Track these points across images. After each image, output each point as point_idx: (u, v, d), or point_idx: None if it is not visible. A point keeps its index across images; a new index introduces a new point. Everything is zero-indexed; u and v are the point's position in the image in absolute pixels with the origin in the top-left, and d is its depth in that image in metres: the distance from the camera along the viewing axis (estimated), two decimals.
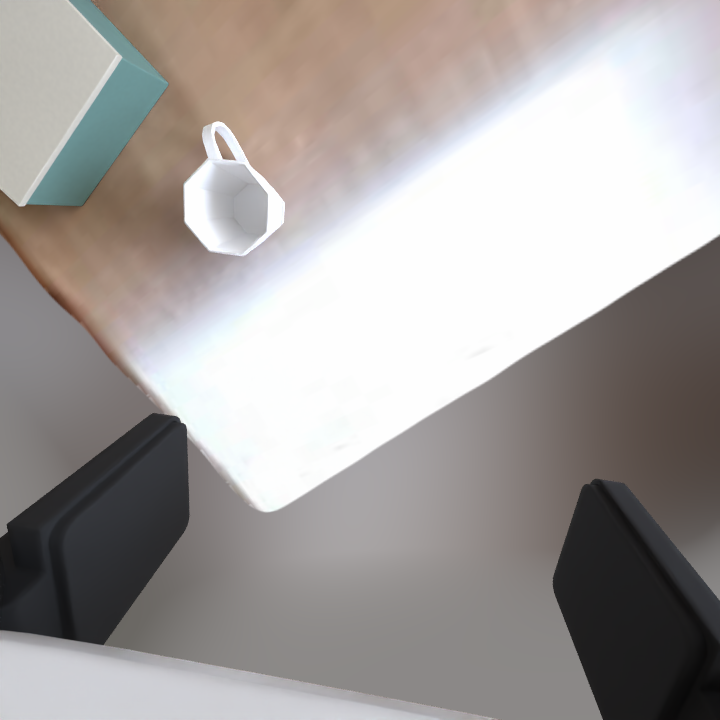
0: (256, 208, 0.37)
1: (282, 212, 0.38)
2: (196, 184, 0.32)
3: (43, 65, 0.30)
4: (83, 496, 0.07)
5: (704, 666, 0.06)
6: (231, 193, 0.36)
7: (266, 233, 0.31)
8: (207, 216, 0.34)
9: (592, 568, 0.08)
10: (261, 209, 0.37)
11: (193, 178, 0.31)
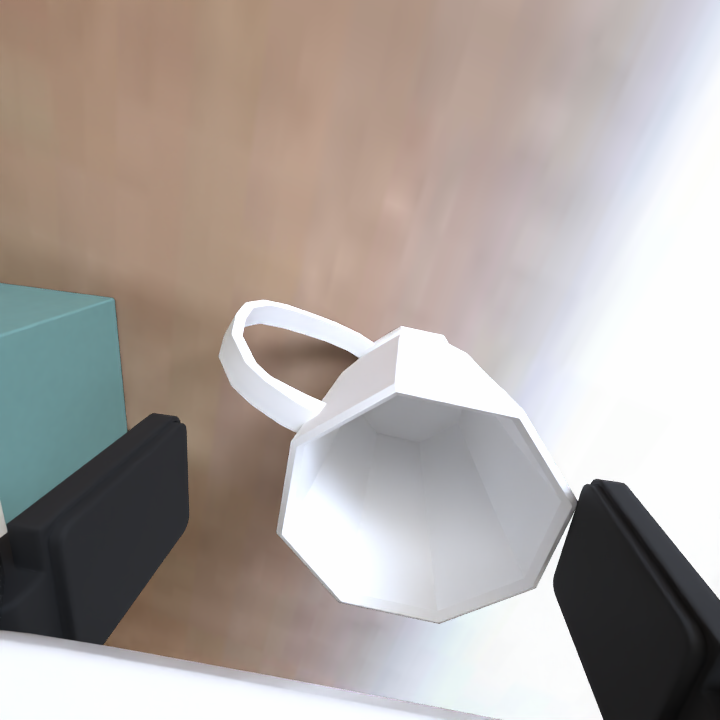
0: None
1: None
2: (301, 499, 0.11)
3: None
4: (83, 496, 0.07)
5: (704, 667, 0.06)
6: None
7: (571, 509, 0.09)
8: (357, 512, 0.13)
9: (592, 568, 0.08)
10: None
11: (290, 507, 0.10)
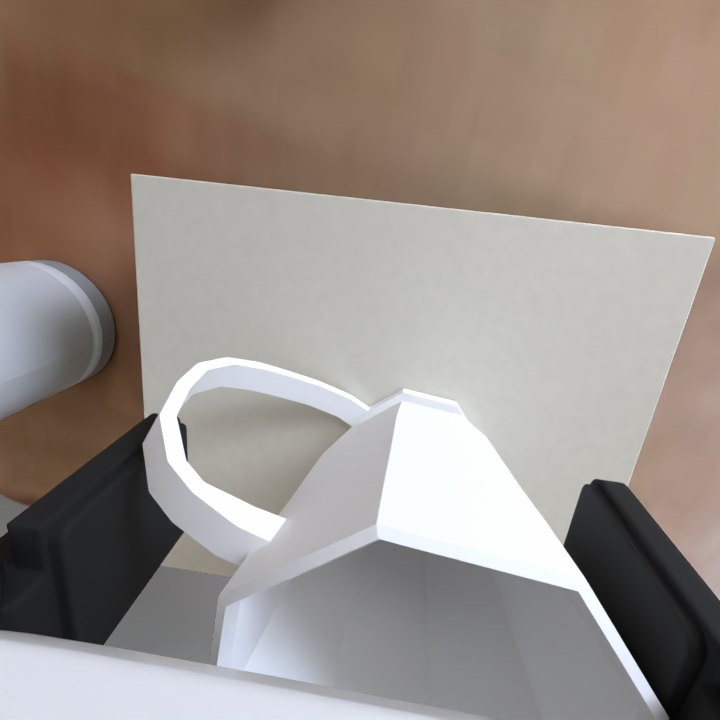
0: None
1: None
2: (245, 658, 0.08)
3: (537, 375, 0.13)
4: (83, 496, 0.07)
5: (704, 666, 0.06)
6: None
7: None
8: (333, 652, 0.10)
9: (592, 568, 0.08)
10: None
11: None
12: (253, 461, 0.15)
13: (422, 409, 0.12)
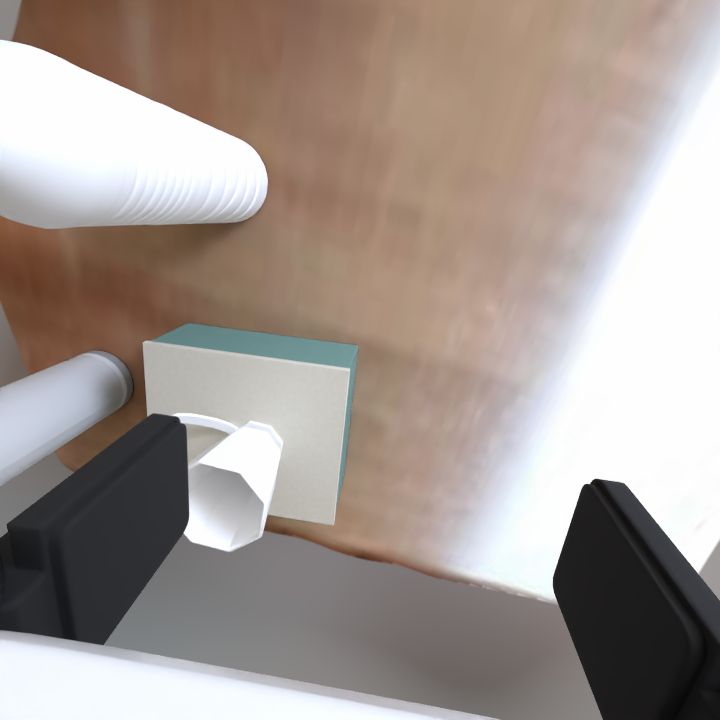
0: None
1: (274, 435, 0.34)
2: None
3: (298, 417, 0.34)
4: (83, 496, 0.07)
5: (704, 666, 0.06)
6: None
7: (265, 505, 0.27)
8: (210, 508, 0.30)
9: (592, 568, 0.08)
10: None
11: None
12: (194, 450, 0.36)
13: (248, 430, 0.32)
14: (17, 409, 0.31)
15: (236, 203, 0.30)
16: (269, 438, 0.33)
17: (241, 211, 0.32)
